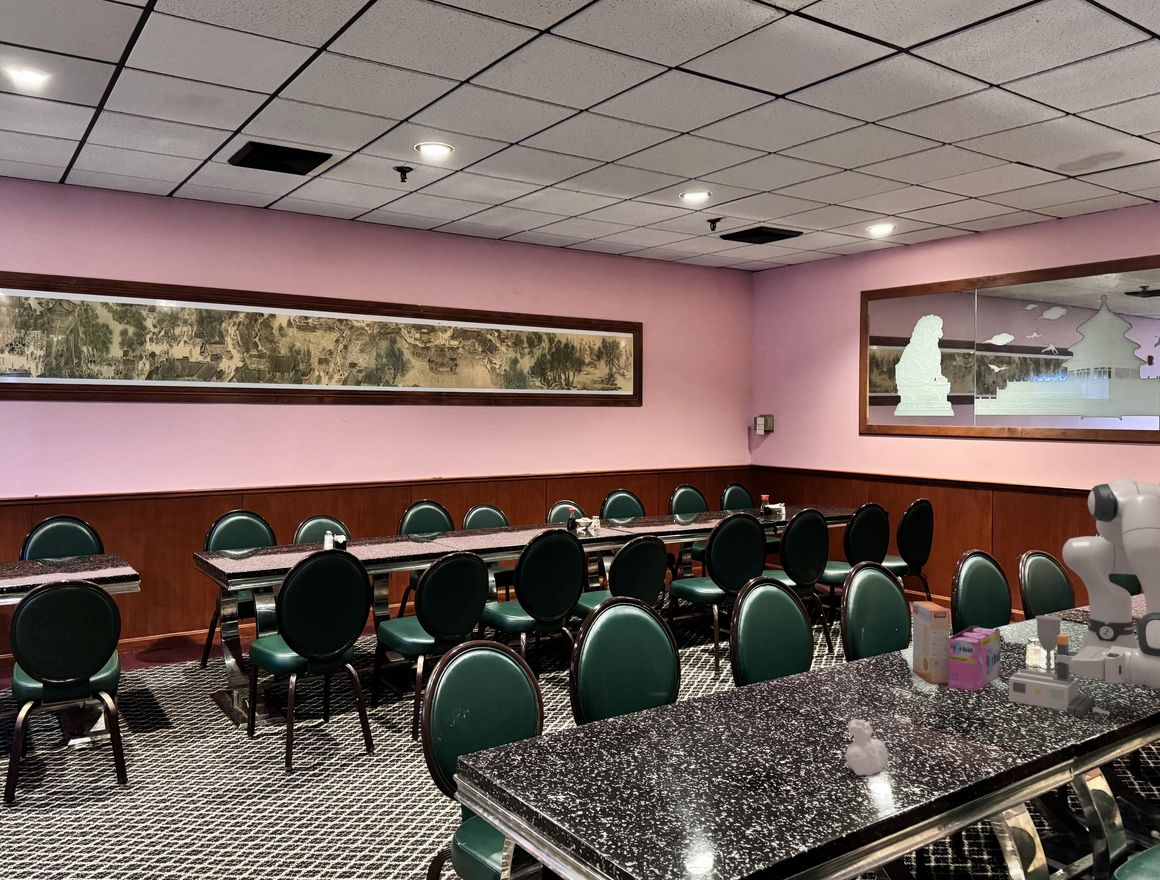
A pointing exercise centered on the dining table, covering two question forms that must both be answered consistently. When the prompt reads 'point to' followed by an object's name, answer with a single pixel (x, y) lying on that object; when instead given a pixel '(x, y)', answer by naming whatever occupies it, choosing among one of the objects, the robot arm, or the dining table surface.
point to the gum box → (973, 658)
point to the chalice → (1048, 635)
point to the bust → (865, 750)
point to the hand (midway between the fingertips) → (1058, 655)
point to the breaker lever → (1062, 667)
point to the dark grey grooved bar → (1081, 705)
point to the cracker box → (930, 641)
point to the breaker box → (1042, 690)
